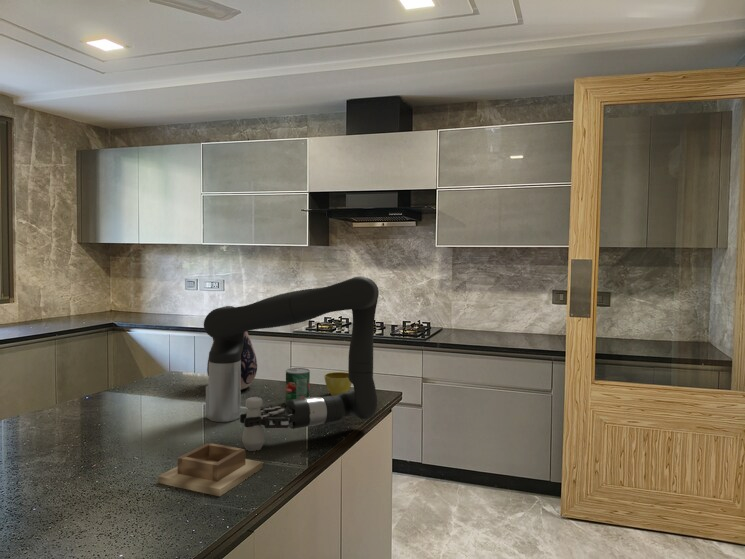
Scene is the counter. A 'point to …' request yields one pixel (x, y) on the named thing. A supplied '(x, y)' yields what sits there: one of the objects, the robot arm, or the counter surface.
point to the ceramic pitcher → (245, 362)
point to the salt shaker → (253, 435)
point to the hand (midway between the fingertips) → (242, 420)
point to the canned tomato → (297, 383)
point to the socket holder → (211, 469)
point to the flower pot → (337, 382)
